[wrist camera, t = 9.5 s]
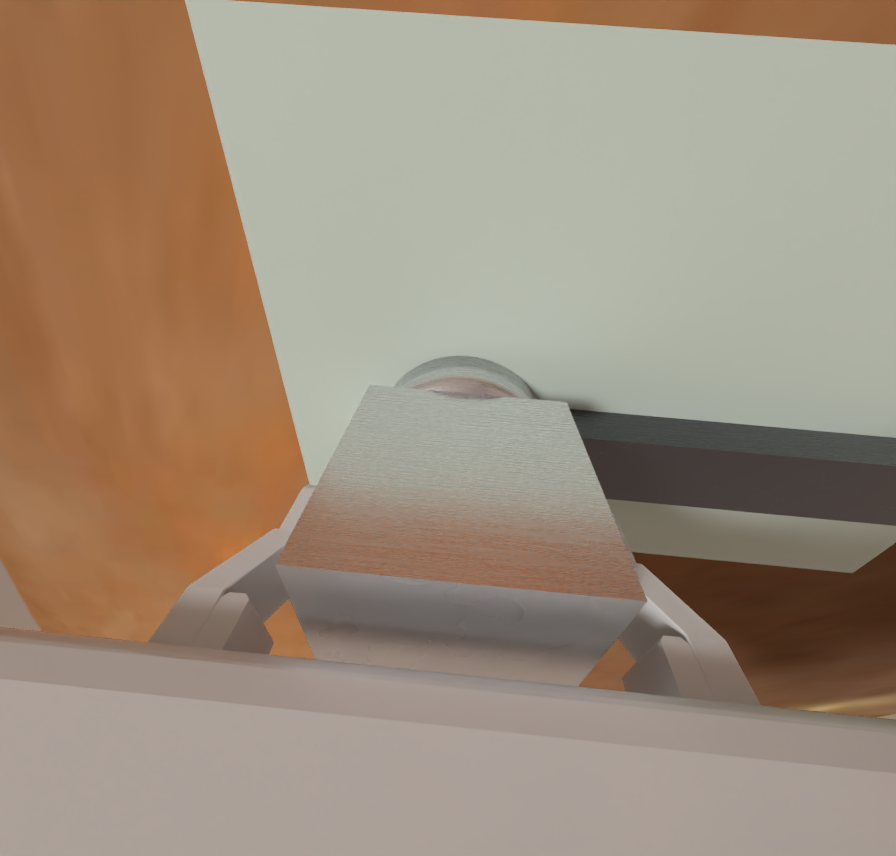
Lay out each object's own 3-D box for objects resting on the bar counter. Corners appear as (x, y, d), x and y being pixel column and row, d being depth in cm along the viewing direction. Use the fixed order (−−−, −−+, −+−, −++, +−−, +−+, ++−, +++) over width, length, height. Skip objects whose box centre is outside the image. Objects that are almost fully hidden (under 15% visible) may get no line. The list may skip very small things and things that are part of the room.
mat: (202, 8, 8) (183, -4, 7) (1465, 93, 7) (1535, 87, 7) (323, 513, 19) (319, 522, 18) (842, 562, 18) (852, 573, 18)
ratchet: (378, 348, 12) (325, 438, 8) (1023, 403, 12) (1335, 530, 7) (386, 477, 16) (354, 585, 12) (872, 523, 15) (1021, 651, 11)
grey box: (369, 384, 10) (274, 565, 5) (566, 402, 10) (647, 601, 5) (380, 513, 14) (329, 690, 9) (526, 526, 14) (554, 714, 9)
